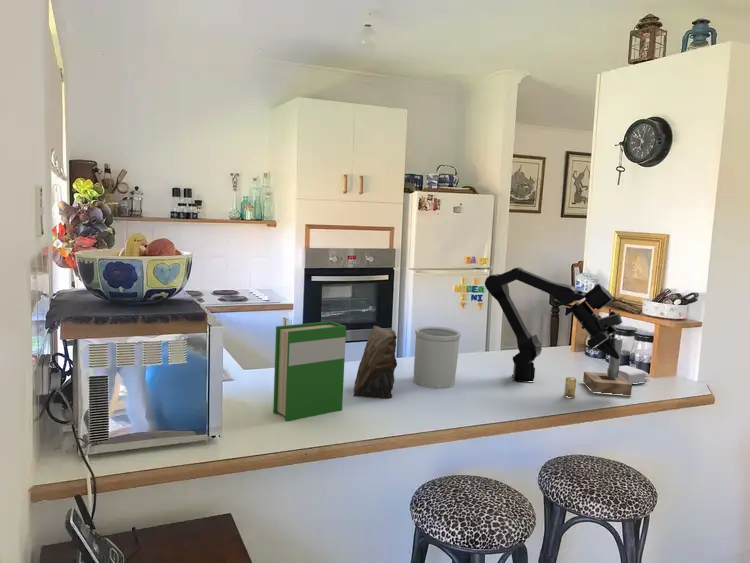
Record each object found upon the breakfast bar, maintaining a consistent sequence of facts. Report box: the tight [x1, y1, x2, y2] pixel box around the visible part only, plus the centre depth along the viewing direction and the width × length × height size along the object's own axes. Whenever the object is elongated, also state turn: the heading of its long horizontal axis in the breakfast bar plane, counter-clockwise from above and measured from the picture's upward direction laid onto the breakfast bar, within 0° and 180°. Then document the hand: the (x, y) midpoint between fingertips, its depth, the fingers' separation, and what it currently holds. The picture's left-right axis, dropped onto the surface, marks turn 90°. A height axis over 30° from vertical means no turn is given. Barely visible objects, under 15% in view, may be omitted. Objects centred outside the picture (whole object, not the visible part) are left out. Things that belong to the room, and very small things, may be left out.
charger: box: [606, 365, 649, 384], centre depth 212 cm, size 5×9×15 cm
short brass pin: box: [563, 376, 577, 397], centre depth 189 cm, size 3×3×6 cm
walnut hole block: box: [582, 371, 633, 396], centre depth 199 cm, size 12×12×4 cm
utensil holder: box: [413, 325, 461, 389], centre depth 195 cm, size 15×15×18 cm
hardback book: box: [272, 320, 347, 423], centre depth 161 cm, size 18×7×24 cm, turn 128°
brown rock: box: [353, 325, 398, 400], centre depth 181 cm, size 13×13×20 cm
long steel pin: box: [607, 337, 624, 378], centre depth 189 cm, size 3×3×12 cm
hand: (619, 357), depth 188 cm, fingers closed on long steel pin, 3 cm apart
